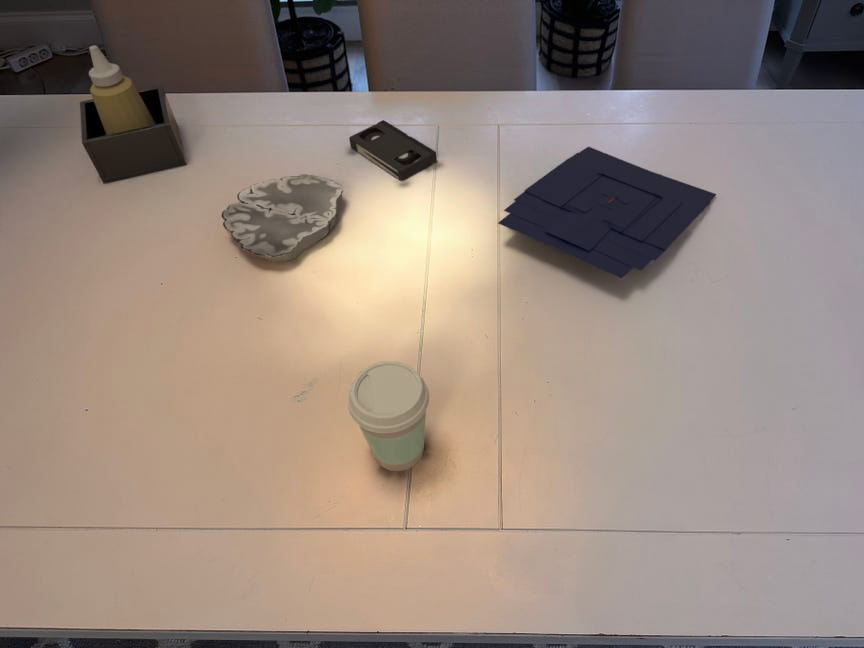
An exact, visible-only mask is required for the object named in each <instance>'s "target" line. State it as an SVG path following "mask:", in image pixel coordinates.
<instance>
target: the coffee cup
mask: <svg viewBox="0 0 864 648" xmlns="http://www.w3.org/2000/svg"><path fill="white" fill-rule="evenodd" d="M347 397H348V398H347V407H348V408H347V409H348V412H349V414H350V417H351V418H352V420H353V421H354V422H355V423H356V424H357V426H359V428H360V430H361V432H362V434H363V437H364V439H365V440H366V442H367V445H368V447H369V449H370V451H371V453H372V454H373V456H374V458H375V460H376V462H377V463H378V465H379V466H380V467H382V468H383V469H385V470H387V471H391V472H404V471H407V470H409V469H412V468H413V467H415V466H416V465H417V464H418V463H419V462H420V461H421V459H422V457H423V455H424V450H425V434H426V419H427V418H426V417H427V409H428V407H429V403H430V392H429V388H428V386H427V383H426V382H425V380H424V378H423V377H422V376H421V375H420V373H418V372H417V371H416V369H414V368H413V367H412V366H411V365H408V364H407V363H404V362H401V361H395V360H383V361H379V362H375V363H372V364H370V365H369V366H367V367H364V369H362V370H361V371H360V372H359V373H357V375H356V376H355V378H354V379H353V381H352V383H351V387H350V389H349V391H348V396H347Z"/></svg>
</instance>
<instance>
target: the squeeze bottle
mask: <svg viewBox="0 0 864 648" xmlns="http://www.w3.org/2000/svg"><path fill="white" fill-rule="evenodd" d="M89 53H90V57H91V61H92V66H93V67H92V68H90V70H89V71H88V76H89V78H90V80H91V82H92V85H91V87H90V89H89V90H90V91H89V92H90V94H91V97H92V99H93V100H94V103H95V105H96V108H97V111H98V113H99V116H100V119H101V122H102V124H103V127H104V130H105V132H106V135H110V134H115V133H119V132H124V131H129V130H133V129H138V128H143V127H148V126H152V125H156V124H155V122H154V120H153V118H152V116H151V115H150V113H149V111H148V109H147V107H146V106H145V104H144V102H143V100H142V98H141V97H140V95H139V93H138V91H137V90H138V89H137V88H136V85H135V84H134V82H133V80H132V79H131V78H130V77H128V76H125V75H123V71H122V70H121V68H120V65H118V64H116V63H111V62H110V61H109V60H108V58H107V57H106V56H105V55H104V54H103V52H102V51H101V50H100V48H99V47H98V45H91V46H89Z"/></svg>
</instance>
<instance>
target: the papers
mask: <svg viewBox="0 0 864 648" xmlns="http://www.w3.org/2000/svg"><path fill="white" fill-rule="evenodd" d="M716 196H717V193H715V192H711V191H709V190H706V189H703V188H700V187H697V186H694V185H691V184H689V183H685V182H683V181H681V180H677V179H673V178H672V177H668V176H666V175H663V174H661V173H657V172H654V171H651V170H648V169H646V168H643V167H641V166H638V165H635V164H633V163H631V162H628V161H626V160H623V159H622V158H621V159H620V158H618V157H616V156H614V155H611V154H608V153H606V152H603V151H601V150H599V149H596V148H593V147H592V146H587V147H585V148H584V149H582V150H581V151H579V152H576V153H575V154H574V155H572V156H570V157H568V158H566V159H565V160H564V161H563V162H561V163H560V164H559V165H557V166H556V167H554V168H553V169H551V170H550V171H549V172H548V173H546V174H545V175H543V176H542V177H541V178H539V179H538V180H536V181H535V182H533V184H531V185H530V186H528V187H526V188H525V189H524V191H523V192H522V193H520V194H519V195H517V197H515V198H514V199H513V201H514V202H512V203H511V204H510V205H509V206H507V207H506V208H505V209H503V211H504V212H506V213H508V215H506V216H505V217H504V218H502V219H501V220H499V221H497V224H498V225H500V226H503V227H504V228H508V229H509V230H513V231H514V232H517V233H519V234H521V235H523V236H526V237H528V238H529V239H530V238H531V239H533V240H534V241H537V242H540V243H542V244H543V245H546V246H549V247H550V248H553V249H554V250H555V249H556V250H558V251H560V252H562V253H564V254H567V255H568V256H571V257H573V258H575V259H577V260H580V261H581V262H584V263H585V264H588V265H590V266H592V267H594V268H597V269H598V270H601V271H603V272H605V273H607V274H610V275H612V276H614V277H616V278H618V279H621V280H622V279H624V278H625V276H626V275H628V274H629V273H630V272H631V271H632V270H633V269H636V270H638V271H641V272H642V270H643V269H644V268H646V267H647V266H648V265H649V264H650V263H651V261H656V260H657V259H658V258H660V257H661V255H663V254H664V253H665V252H666V251H667V250H668V248H669V247H670V246H671V245H672V244H673V243H674V242H675V241H676V240H677V239H678V238H679V237H680V236H681V235H682V234H683V232H685V231H686V229H687V228H688V227H689V226H690V225H691V224H692V223H693V222H695V220H696V219H697V218H698V217H699V216H700V214H701V213H703V212H704V211H705V210H706V208H707V207H708V206H709V205H710V204H711V203H712V201H713V200H714V199H715V197H716Z"/></svg>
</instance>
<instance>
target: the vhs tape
mask: <svg viewBox="0 0 864 648" xmlns="http://www.w3.org/2000/svg"><path fill="white" fill-rule="evenodd" d="M348 139H349V143H350V149H351V150H353V151H354V152H356V153H358V154H359V155H361V156H362V157H364V158H365V159H366V160H368V161H370V162H371V163H373V164H374V165H376V166H377V167H379V168H380V169H381V170H383V171H385V172H386V173H387V174H389V175H391V176H392V177H394V178H395V179H397V180H398V181H400V182H403V181H405V180H407V179H408V178H410V177H412V176H414V175H416V174H418V173H420V172H421V171H423V170H425V169H428V168H429V167H430V166H432V165H434V164H436V163H438V160H437V151H435V150H434V149H433V148H430V147H429V146H428V145H426V144H424V143H422V142H420V141H419V140H417V139H415V137H413V136H411V135H410V136H409V135H408V133H406V132H404V131H402V130H401V129H400V128H398V127H396V126H395V125H392V123H389V122H388V121H386V120H384V119H382V120H380V121H378V122H377V123H376V124H373V125H371V126H369V127H367V128H365V129H363V130H361V131H358V132H357V133H355V134H352V135H351V136H349V138H348Z"/></svg>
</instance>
